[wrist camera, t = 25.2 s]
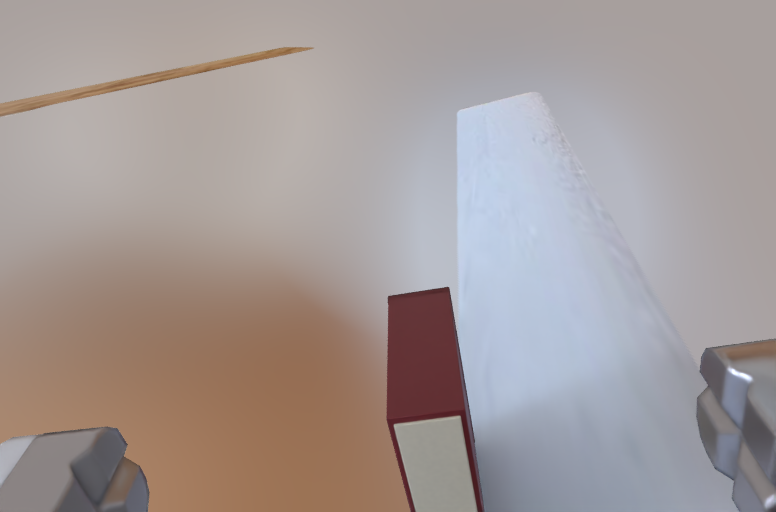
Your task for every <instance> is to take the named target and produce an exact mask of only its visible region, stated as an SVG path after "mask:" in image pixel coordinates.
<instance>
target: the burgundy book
mask: <svg viewBox="0 0 776 512" xmlns="http://www.w3.org/2000/svg"><path fill="white" fill-rule="evenodd" d="M388 305H389V306H388V364H387V423H388V427H389V430H390V434H391V438H392V441H393V446H394V449H395V453H396V457H397V460H398V465H399V468H400V472H401V476H402V480H403V484H404V488H405V491H406V495H407V499H408V503H409V506H410V510H411V512H485V511H484V505H483V498H482V491H481V484H480V478H479V471H478V464H477V457H476V450H475V444H474V443H475V439H474V433H473V427H472V421H471V415H470V409H469V403H468V397H467V391H466V385H465V379H464V373H463V367H462V361H461V355H460V349H459V343H458V337H457V331H456V325H455V319H454V313H453V307H452V301H451V295H450V289H449V287H444V288H438V289H432V290H425V291H419V292H412V293H405V294H399V295H392V296H388Z"/></svg>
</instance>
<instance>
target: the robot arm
mask: <svg viewBox="0 0 776 512" xmlns="http://www.w3.org/2000/svg"><path fill="white" fill-rule="evenodd" d="M700 373H701V375H702V376H703V378H704V380H705V381H706V383H707V384H708V387H707V388H706V389H705V390H704V391H703V392H702V393H701V394H700V395H699V396H698V397H697V416H696V417H697V422H698V427H699V433H700V437H701V440H702V443H703V445H704V448H705V450H706V453H707V455H708V457H709V458H710V460H711V462H712V464H713V466H714V468H715V469H716V470H718V471H719V472H721V473H723V474H724V475H726V476H727V477H729V478H731V479H732V480H734V485H733V493H732V500H733V501H734V503H735V505H736V507H737V508H738V510H739V512H776V339H769V340H762V341H755V342H747V343H741V344H733V345H726V346H718V347H712V348H706V349H705V351H704V353H703V355H702V357H701V365H700ZM127 445H128V444H127V443H126V441H125V440H124V438H123V437H122V435H121V433H120V432H119V430H118V429H117V428H111V427H99V428H89V429H80V430H70V431H61V432H52V433H44V434H42V435H30V436H20V437H13V438H11V439H9V440H7V441H5V442H3V443H2V444H0V512H148V503H149V489H148V485H147V480H146V477H145V475H144V473H143V471H142V469H141V468H140V466H139V465H137V464H136V463H134V462H132V461H131V460H129V459H127V458H126V457H124V454H125V451H126V448H127Z"/></svg>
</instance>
